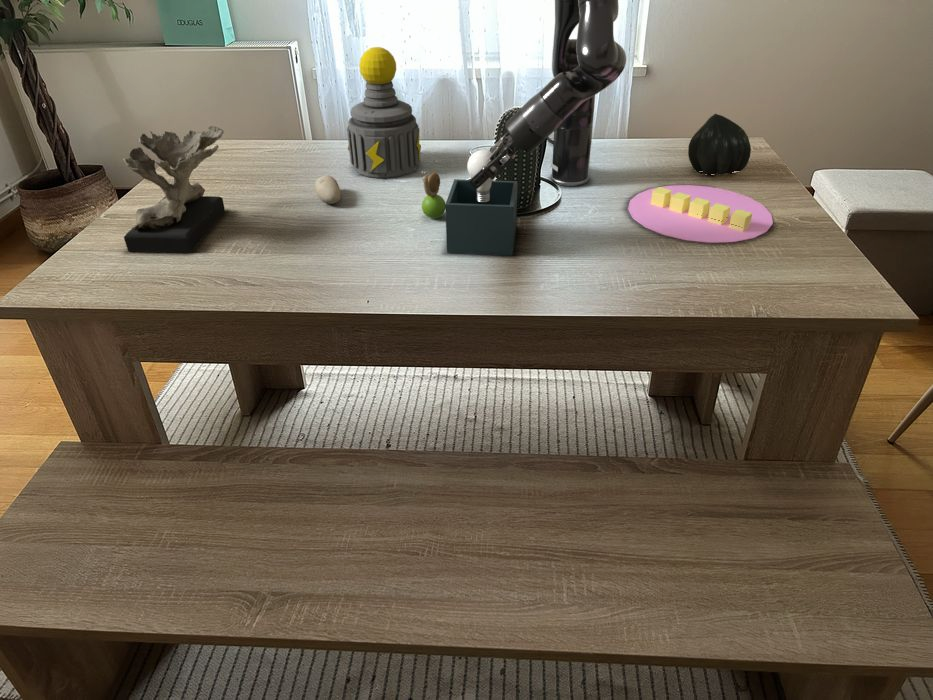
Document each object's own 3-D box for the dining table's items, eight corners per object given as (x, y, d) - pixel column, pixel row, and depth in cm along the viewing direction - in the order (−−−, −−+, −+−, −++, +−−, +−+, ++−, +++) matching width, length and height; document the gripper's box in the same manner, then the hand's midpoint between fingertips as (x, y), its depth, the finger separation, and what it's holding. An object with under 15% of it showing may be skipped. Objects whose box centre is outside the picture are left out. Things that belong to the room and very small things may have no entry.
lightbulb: (477, 211, 142) (476, 158, 136) (462, 200, 147) (461, 148, 140) (504, 204, 144) (504, 152, 138) (489, 194, 149) (489, 143, 143)
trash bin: (455, 225, 157) (454, 179, 150) (516, 227, 155) (517, 181, 149) (446, 253, 146) (445, 204, 139) (512, 256, 144) (513, 206, 138)
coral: (175, 204, 168) (151, 114, 156) (257, 206, 167) (240, 115, 154) (124, 251, 148) (92, 152, 136) (217, 255, 146) (193, 154, 134)
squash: (760, 164, 170) (755, 106, 172) (697, 167, 170) (693, 109, 172) (740, 185, 184) (735, 130, 186) (682, 187, 185) (678, 133, 186)
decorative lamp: (361, 153, 196) (349, 38, 179) (427, 156, 194) (421, 39, 177) (342, 178, 181) (327, 55, 164) (413, 181, 179) (406, 56, 162)
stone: (321, 200, 162) (303, 171, 169) (330, 219, 168) (312, 189, 174) (343, 189, 163) (324, 160, 169) (352, 207, 168) (333, 178, 175)
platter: (732, 257, 142) (736, 242, 140) (600, 214, 160) (602, 200, 158) (796, 209, 161) (800, 195, 159) (671, 175, 179) (673, 163, 177)
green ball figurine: (415, 221, 159) (412, 170, 152) (429, 210, 163) (427, 160, 157) (436, 225, 157) (434, 174, 150) (450, 215, 161) (448, 164, 154)
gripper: (524, 97, 139) (466, 153, 147) (518, 118, 128) (456, 179, 136) (549, 124, 142) (491, 178, 150) (546, 148, 130) (483, 205, 138)
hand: (475, 178), depth 143 cm, fingers closed on lightbulb, 6 cm apart
